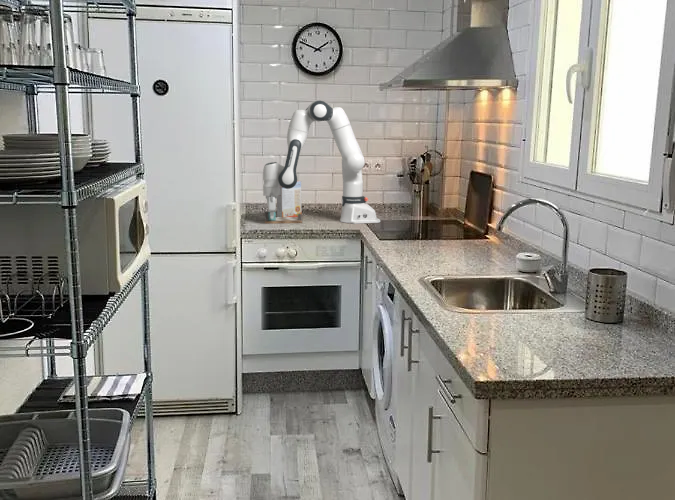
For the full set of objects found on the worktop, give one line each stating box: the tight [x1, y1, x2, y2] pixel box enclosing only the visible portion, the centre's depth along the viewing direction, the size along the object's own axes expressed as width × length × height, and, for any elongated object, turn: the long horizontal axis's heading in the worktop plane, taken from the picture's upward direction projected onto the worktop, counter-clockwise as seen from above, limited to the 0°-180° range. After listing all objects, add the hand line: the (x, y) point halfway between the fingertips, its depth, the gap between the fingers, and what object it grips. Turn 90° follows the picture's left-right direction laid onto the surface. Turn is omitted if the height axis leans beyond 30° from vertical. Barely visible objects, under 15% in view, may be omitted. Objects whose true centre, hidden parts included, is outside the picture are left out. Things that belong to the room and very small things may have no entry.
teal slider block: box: [268, 211, 277, 221], centre depth 385 cm, size 4×5×4 cm
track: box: [264, 210, 303, 225], centre depth 386 cm, size 20×10×6 cm, turn 97°
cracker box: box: [276, 180, 303, 217], centre depth 403 cm, size 14×6×21 cm, turn 130°
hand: (271, 217), depth 385 cm, fingers open, 7 cm apart
